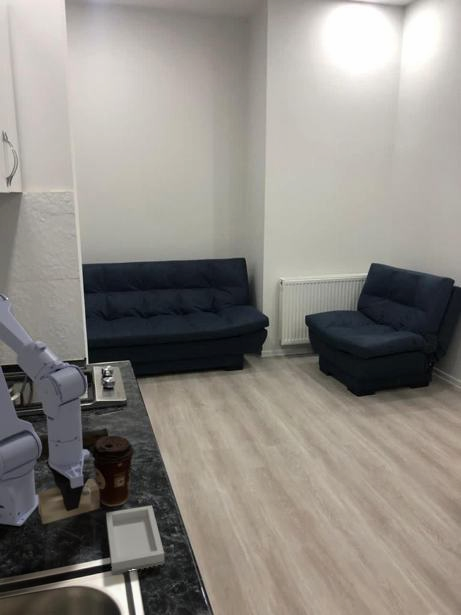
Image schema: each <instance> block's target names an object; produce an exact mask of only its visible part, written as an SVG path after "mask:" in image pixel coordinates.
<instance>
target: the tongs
mask: <svg viewBox="0 0 461 615" xmlns="http://www.w3.org/2000/svg"><path fill="white" fill-rule="evenodd" d="M37 495H38V506H37V508H38V513H39V516H40V517H41V522H42V525H46V524H50V523H52V522H57V521H59V520H62V519H67V518H71V517H73V516H77V515H81V514H84V513H85V514H86V513H88V512H92V511H95V510H99V509H100V500H99V488H98V486H97V484H96V480H95V479H94V478H88V481H87V482H86V484H85V486H84V488H83V490H82V494H81V499H80V503H79V507H78V508H77V509H74V510H70V511H67V510H66V508H65V505H64V502H63V498H62V494H61V491H60V489H59V488H58V487H57V486H56V487H53V488H50V489H49V488H48V489H44V490H41V491H38V492H37Z"/></svg>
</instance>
